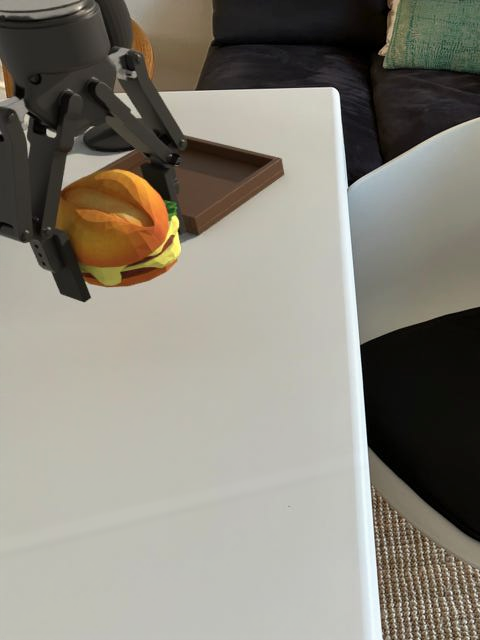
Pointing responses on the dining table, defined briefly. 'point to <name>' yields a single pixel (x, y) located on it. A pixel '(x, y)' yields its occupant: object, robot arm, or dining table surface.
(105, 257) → the cheeseburger
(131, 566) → the dining table surface
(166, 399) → the dining table surface
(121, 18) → the wine glass
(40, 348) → the dining table surface
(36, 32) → the robot arm
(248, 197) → the tray
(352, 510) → the dining table surface
